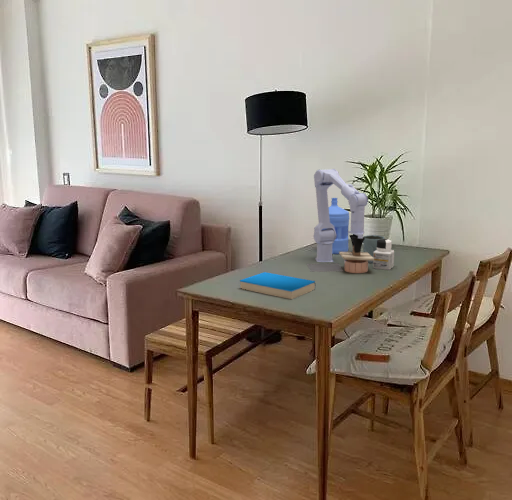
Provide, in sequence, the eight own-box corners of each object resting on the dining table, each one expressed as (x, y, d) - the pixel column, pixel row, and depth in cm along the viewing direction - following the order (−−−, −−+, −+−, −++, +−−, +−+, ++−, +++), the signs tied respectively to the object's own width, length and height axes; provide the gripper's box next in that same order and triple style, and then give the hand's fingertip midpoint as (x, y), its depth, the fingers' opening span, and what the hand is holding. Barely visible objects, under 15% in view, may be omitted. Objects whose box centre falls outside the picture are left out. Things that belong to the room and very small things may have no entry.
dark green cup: (382, 259, 260) (383, 235, 258) (384, 264, 250) (386, 239, 248) (361, 259, 261) (361, 235, 259) (363, 263, 251) (363, 238, 249)
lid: (338, 253, 242) (339, 242, 241) (367, 254, 242) (368, 243, 241) (344, 259, 229) (344, 248, 228) (374, 260, 229) (374, 249, 228)
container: (372, 268, 242) (373, 240, 240) (377, 264, 249) (378, 237, 246) (389, 270, 239) (390, 241, 236) (393, 266, 245) (394, 238, 243)
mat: (306, 265, 250) (306, 263, 250) (338, 264, 250) (338, 263, 250) (310, 272, 235) (310, 271, 235) (344, 272, 235) (344, 271, 235)
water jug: (313, 249, 285) (314, 197, 279) (340, 247, 289) (341, 196, 284) (325, 255, 270) (326, 200, 264) (353, 253, 275) (355, 199, 269)
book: (292, 290, 196) (239, 279, 210) (292, 301, 197) (239, 290, 211) (316, 280, 209) (264, 270, 224) (315, 291, 210) (264, 280, 225)
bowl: (342, 268, 242) (343, 258, 241) (364, 268, 242) (365, 257, 241) (346, 274, 232) (347, 263, 231) (369, 274, 232) (370, 263, 231)
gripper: (345, 218, 239) (344, 248, 242) (351, 224, 225) (350, 255, 228) (360, 218, 239) (359, 248, 242) (368, 223, 225) (367, 255, 228)
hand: (356, 251), depth 235 cm, fingers closed on lid, 3 cm apart
